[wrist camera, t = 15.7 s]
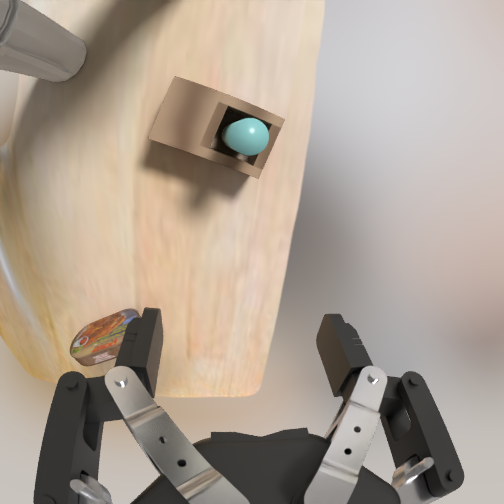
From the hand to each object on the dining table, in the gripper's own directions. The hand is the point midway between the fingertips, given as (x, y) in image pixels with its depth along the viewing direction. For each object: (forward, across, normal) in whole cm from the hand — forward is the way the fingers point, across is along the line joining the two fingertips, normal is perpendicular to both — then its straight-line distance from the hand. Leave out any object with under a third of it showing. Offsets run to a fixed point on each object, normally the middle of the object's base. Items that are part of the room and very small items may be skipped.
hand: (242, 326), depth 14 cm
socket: (+29, +2, -7) cm, 30 cm away
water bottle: (+29, +24, -17) cm, 41 cm away
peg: (+29, 0, -6) cm, 29 cm away
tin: (+25, +19, +25) cm, 40 cm away
